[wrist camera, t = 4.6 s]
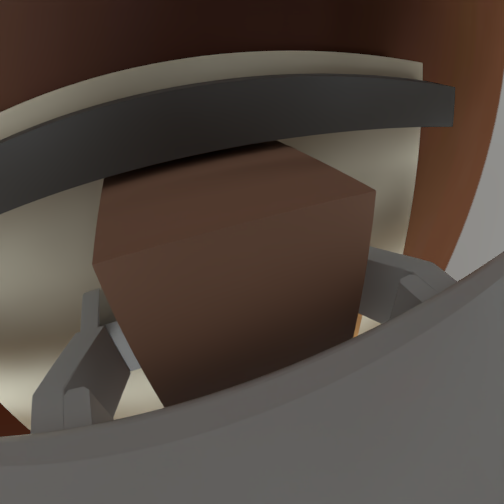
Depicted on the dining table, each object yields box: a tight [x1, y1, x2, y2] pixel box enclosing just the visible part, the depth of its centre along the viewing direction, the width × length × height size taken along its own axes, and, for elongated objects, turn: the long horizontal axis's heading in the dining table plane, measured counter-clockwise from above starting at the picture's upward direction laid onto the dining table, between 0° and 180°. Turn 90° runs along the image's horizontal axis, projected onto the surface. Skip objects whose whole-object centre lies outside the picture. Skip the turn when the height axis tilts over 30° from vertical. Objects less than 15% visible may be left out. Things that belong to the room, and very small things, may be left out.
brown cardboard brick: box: [92, 140, 376, 408], centre depth 8 cm, size 7×4×5 cm, turn 6°
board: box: [0, 51, 455, 430], centre depth 11 cm, size 16×21×4 cm
